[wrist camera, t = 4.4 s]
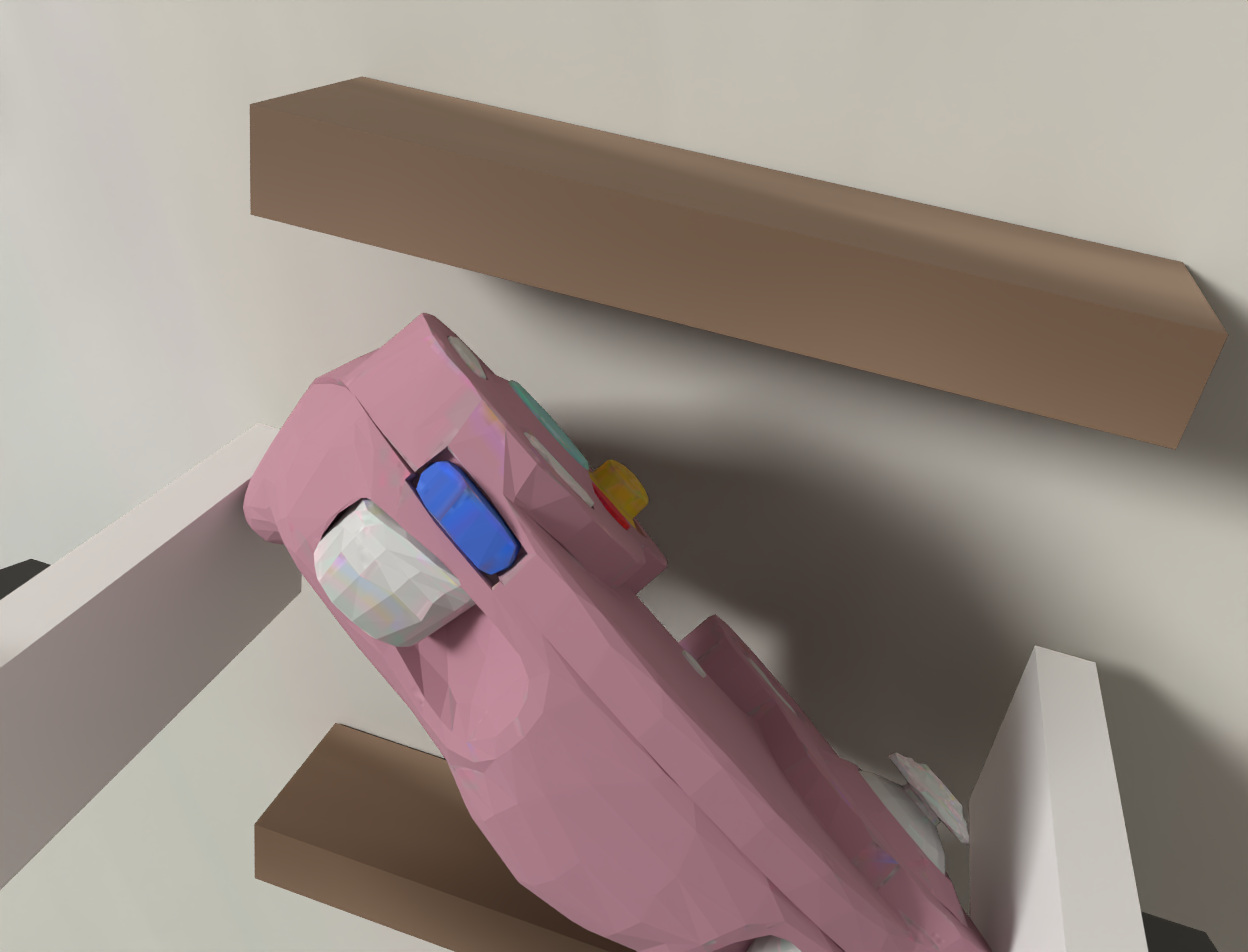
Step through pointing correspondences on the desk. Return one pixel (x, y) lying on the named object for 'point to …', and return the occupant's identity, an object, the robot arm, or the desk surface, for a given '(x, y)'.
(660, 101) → the desk surface
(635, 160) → the dock
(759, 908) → the video game controller
